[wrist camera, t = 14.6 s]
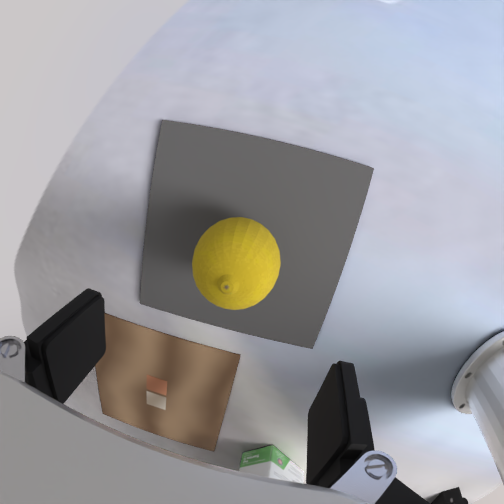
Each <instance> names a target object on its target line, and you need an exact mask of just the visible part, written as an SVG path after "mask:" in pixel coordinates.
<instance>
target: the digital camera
mask: <svg viewBox="0 0 504 504" xmlns="http://www.w3.org/2000/svg"><path fill="white" fill-rule="evenodd" d="M445 498H446V499H445ZM431 504H468V501H467V499H466V498H462V496H461V492H460V489H459V487H457V488H454V489H450V490H447V491H443V492H442V493H441V494H440V495H439V496H438V497H437V498H436V499H435V500H434V501H433V502H432V503H431Z"/></svg>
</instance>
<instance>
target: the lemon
mask: <svg viewBox="0 0 504 504" xmlns="http://www.w3.org/2000/svg"><path fill="white" fill-rule="evenodd" d="M280 264H281V261H280V251H279V248H278V245H277V243H276V240H275V238H274V237H273V236H272V234H271V233H270V231H269V230H268V229H267V228H265V227H264V226H263V225H262V224H260V223H258V222H256V221H254V220H252V219H248V218H243V217H232V218H228V219H224V220H221V221H219V222H217V223H216V224H214V225H213V226H211V227H210V228H209V229H208V230H207V231H206V232H205V233H204V234H203V235H202V236H201V238H200V240H199V241H198V243H197V245H196V247H195V250H194V255H193V260H192V269H193V277H194V280H195V283H196V286H197V288H198V289H199V291H200V292H201V294H202V295H203V296H204V297H205V298H206V299H207V300H208V301H210V302H211V303H213V304H215V305H216V306H219V307H222V308H225V309H231V310H239V309H246V308H248V307H251V306H254V305H255V304H257V303H258V302H260V301H261V300H263V299H264V298H265V297H266V296H267V294H268V293H269V292H270V291H271V290H272V288H273V287H274V285H275V282H276V280H277V278H278V276H279V270H280Z"/></svg>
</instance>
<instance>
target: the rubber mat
mask: <svg viewBox="0 0 504 504" xmlns="http://www.w3.org/2000/svg"><path fill="white" fill-rule="evenodd" d="M373 170H374V168H371V167H368V166H365V165H362V164H359V163H356V162H352V161H349V160H346V159H343V158H339V157H336V156H332V155H329V154H325V153H322V152H318V151H314V150H311V149H307V148H303V147H299V146H295V145H291V144H287V143H283V142H279V141H275V140H271V139H266V138H262V137H257V136H253V135H248V134H243V133H238V132H233V131H228V130H223V129H217V128H212V127H206V126H200V125H194V124H188V123H181V122H174V121H167V120H162V124H161V130H160V135H159V140H158V146H157V151H156V157H155V163H154V169H153V176H152V183H151V189H150V197H149V204H148V212H147V221H146V230H145V239H144V250H143V261H142V274H141V289H140V304H143V305H146V306H149V307H152V308H156V309H159V310H162V311H165V312H169V313H172V314H175V315H179V316H182V317H186V318H189V319H193V320H196V321H200V322H203V323H207V324H211V325H214V326H218V327H222V328H225V329H229V330H233V331H237V332H241V333H245V334H249V335H253V336H257V337H261V338H266V339H270V340H274V341H279V342H283V343H288V344H292V345H297V346H301V347H306V348H311V349H313V346H314V344H315V341H316V339H317V336H318V334H319V332H320V329H321V326H322V324H323V321H324V319H325V316H326V314H327V311H328V309H329V306H330V303H331V301H332V298H333V295H334V293H335V290H336V287H337V284H338V282H339V279H340V276H341V273H342V270H343V267H344V264H345V262H346V259H347V256H348V253H349V250H350V247H351V244H352V241H353V238H354V234H355V231H356V228H357V225H358V222H359V219H360V215H361V212H362V209H363V205H364V202H365V199H366V195H367V192H368V188H369V185H370V181H371V177H372V174H373ZM232 217H243V218H248V219H252V220H254V221H256V222H258V223H260V224H262V225H263V226H264V227H265V228H267V229H268V230H269V231H270V233H271V234H272V236H273V237H274V238H275V240H276V243H277V245H278V248H279V251H280V261H281V264H280V270H279V276H278V278H277V280H276V282H275V285H274V287H273V288H272V290H271V291H270V292H269V293H268V294H267V296H266V297H265V298H264V299H263V300H261V301H260V302H258V303H257V304H255V305H254V306H251V307H248V308H246V309H239V310H231V309H225V308H222V307H219V306H216V305H215V304H213V303H211V302H210V301H208V300H207V299H206V298H205V297H204V296H203V295H202V294H201V292H200V291H199V289H198V288H197V286H196V283H195V280H194V277H193V269H192V260H193V255H194V250H195V247H196V245H197V243H198V241H199V240H200V238H201V236H202V235H203V234H204V233H205V232H206V231H207V230H208V229H209V228H210V227H211V226H213V225H214V224H216V223H217V222H219V221H221V220H224V219H228V218H232Z"/></svg>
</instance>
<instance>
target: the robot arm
mask: <svg viewBox="0 0 504 504" xmlns="http://www.w3.org/2000/svg"><path fill="white" fill-rule="evenodd" d="M105 351H106V336H105V311H104V298H103V297H102V295H101V293H100V292H97V291H94V290H92V289H86V290H85V291H83V292H82V293H81V294H80V295H78V296H77V297H76V298H74V299H73V300H72V301H71V302H69V303H68V304H67V305H65V306H64V307H63V308H62V309H60V310H59V311H58V312H57V313H55V314H54V315H53V316H52V317H50V318H49V319H48V320H47V321H46V322H44V323H43V324H42V325H41V326H39V327H38V328H37V329H36V330H35V331H33V332H32V333H31V334H30V335H29V336H27V340H26V341H25V342H23V341H22V340H21V339H19V338H17V337H15V336H6V337H3V338H0V504H430V503H429V502H427V501H426V500H424V499H423V498H422V497H420V496H419V495H418V494H416V493H415V492H414V491H412V490H411V489H410V488H408V487H407V486H406V485H405V484H403V483H402V482H401V481H399V480H398V479H397V478H395V476H396V474H397V466H396V463H395V461H394V460H393V458H392V457H390V456H389V455H388V454H386V453H384V452H381V451H375V450H374V444H373V438H372V432H371V426H370V421H369V415H368V410H367V405H366V401H365V399H364V398H360V394H359V389H358V383H357V378H356V373H355V368H354V364H353V363H348V362H343V361H338V363H337V364H332V366H331V368H330V370H329V372H328V374H327V376H326V378H325V380H324V382H323V384H322V386H321V388H320V390H319V392H318V394H317V396H316V398H315V400H314V402H313V403H312V405H311V407H310V409H309V413H308V441H307V474H306V483H307V484H303V483H298V482H291V481H285V480H280V479H274V478H269V477H264V476H259V475H254V474H249V473H245V472H240V471H236V470H232V469H228V468H224V467H220V466H216V465H212V464H209V463H205V462H202V461H198V460H195V459H192V458H189V457H185V456H182V455H179V454H176V453H173V452H170V451H167V450H164V449H162V448H159V447H156V446H153V445H151V444H148V443H146V442H143V441H140V440H138V439H135V438H133V437H131V436H128V435H126V434H123V433H121V432H119V431H117V430H114V429H112V428H110V427H108V426H105V425H103V424H101V423H99V422H97V421H95V420H93V419H91V418H89V417H87V416H85V415H83V414H81V413H79V412H77V411H75V410H73V409H71V408H69V407H67V406H66V405H64V404H63V403H64V402H65V401H66V400H67V399H68V398H69V396H70V395H71V394H72V393H73V391H74V390H75V389H76V388H77V387H78V385H79V384H80V383H81V382H82V381H83V379H84V378H85V377H86V376H87V374H88V373H89V372H90V371H91V370H92V369H93V367H94V366H95V365H96V364H97V363H98V361H99V360H100V359H101V358H102V357H103V355H104V354H105ZM451 398H452V402H453V404H454V406H455V408H456V409H457V410H458V411H459V412H461V413H464V414H473V416H474V418H475V420H476V422H477V424H478V426H479V428H480V430H481V432H482V434H483V437H484V439H485V441H486V443H487V445H488V448H489V450H490V452H491V455H492V457H493V459H494V462H495V464H496V466H497V469H498V471H499V474H500V476H501V479H502V482H503V484H504V331H503V332H501V333H499V334H497V335H495V336H494V337H492V338H491V339H489V340H488V341H487V342H485V343H484V344H483V345H482V346H480V347H479V348H478V349H477V350H476V351H475V352H474V353H473V354H472V355H471V357H470V358H469V359H468V360H467V361H466V363H465V364H464V365H463V367H462V368H461V370H460V371H459V373H458V375H457V377H456V379H455V381H454V384H453V386H452V392H451Z"/></svg>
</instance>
